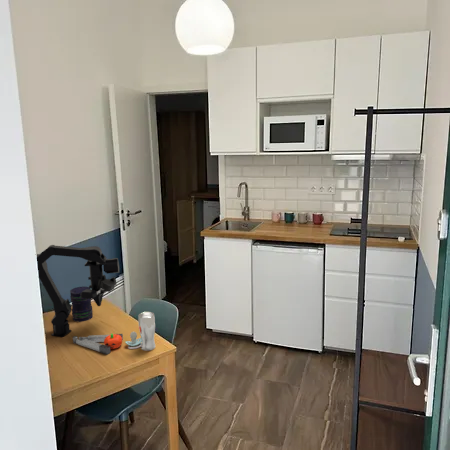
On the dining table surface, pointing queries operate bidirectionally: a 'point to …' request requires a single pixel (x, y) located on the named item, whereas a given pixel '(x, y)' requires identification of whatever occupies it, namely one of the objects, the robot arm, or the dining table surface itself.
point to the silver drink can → (147, 330)
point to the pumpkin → (113, 341)
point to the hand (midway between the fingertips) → (99, 306)
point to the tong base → (92, 345)
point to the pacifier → (134, 341)
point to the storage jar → (80, 305)
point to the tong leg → (97, 337)
